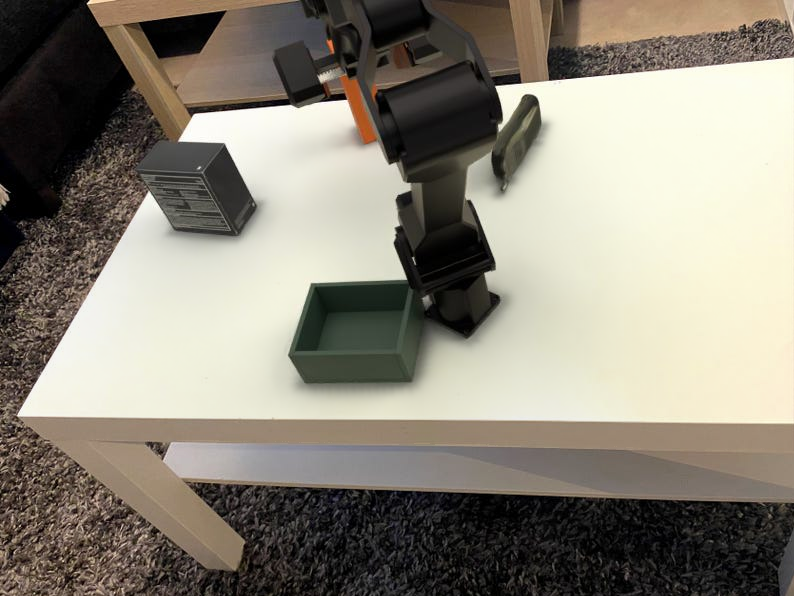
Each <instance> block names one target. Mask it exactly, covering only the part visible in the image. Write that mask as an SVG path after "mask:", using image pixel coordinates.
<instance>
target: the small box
mask: <svg viewBox="0 0 794 596" xmlns="http://www.w3.org/2000/svg"><path fill="white" fill-rule="evenodd" d="M134 171H135V173H136V175H138V177H139V178H140V179H141V181H142V182H143V184H144V185H145V187H146V188H147V190H148V191H149V193H150V195H151V196H152V197H153V199H154V200H155V201H154V202H156V204H157V205H158V206H159V208H160V210H161V212H162V213H163V215H164V216H165V217H166V219H167V221H168V222H169V224H170V226H171V227H172V229H173V230H174V231H176V232H177V231H178V232H191V233H203V234H216V235H227V236H238V235H239V234H240V233H241V231H242V229H243V228H244V226H245V224H246V223H247V221H249V219H250V217H251V216H252V214H253V213H254V211H255V210H256V208H257V206H258V204H257V203H256V201H255V199H254V197H253V195H252V193H251V191H250V189H249V188H248V185H247V184H246V181H245V180H244V178H243V176H242V174H241V172H240V170H239V168H238V166H237V164H236V162H235V161H234V158H233V157H232V155H231V153H230V151H229V149H228V148H227V145H226V143H225V142H206V141H201V142H200V141H178V140H177V141H175V140H158V141H157V142H156V143H155V144H154V145H153V147H152V148H151V149H150V150H149V151H148V153H146V154H145V156H144V157H143V158H142V159H141V160H140V161H139V163H138V164H137V165H136V167H134Z"/></svg>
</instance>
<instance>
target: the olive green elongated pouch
mask: <svg viewBox="0 0 794 596" xmlns="http://www.w3.org/2000/svg"><path fill="white" fill-rule="evenodd" d="M540 105H541V104H540V101H539V98H538V97H537V96H536V95H535V94H532V93H531V94H530V93H525V94H523V95H522V96H521V98H520V101H519V103H518V105H517V107H516V108H515V109H514V110H513V112H512V114H511V115H510V117H509V119H508V121H507V122H506V123H505V124H504V125H503V127H502V128H501V129H500V130H499V136H498V140H497V142H496V144H495V145H494V147H493V149H492V151H491V152H490V162H491V168H492V172H493V175H494V177H495V178H496V179H499V180H501V185H500V187H499V190H500V192H505V191H506V189H507V187H508V184H509V182H510V180H511V178H512V176H513V174H514V172H516V169H518V167H519V166H520V164H521V163H522V161H523V160H524V158H525V156H526V154H527V152H528V151H529V149H530V148H531V146H532V144H533V143H534V140H535V139H536V137H537V136H538V133H539V132H540V129H541V127H542V112H541V106H540Z"/></svg>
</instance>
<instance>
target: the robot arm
mask: <svg viewBox="0 0 794 596" xmlns="http://www.w3.org/2000/svg"><path fill="white" fill-rule="evenodd" d="M298 2H299V4H300V7H301V10H302V11H303V14H304V16H305V19H307V20H309V19H311V18H315V20H316V21H318V20H321V22H322V27H323V32H324V34H325V37H326V40H328V41H330V40H332V45H333V50H334V54H331V53H330V54H329V55H325V56H323V57H320V58H317V59H314V56H313V55H312V53H311V51H310V49H309V47H307V46H306V43H305V42H304V40H303V39H301V40H298V41H295V42H293V43H290V44H287V45H285V46H281V47H279V48H275V49H274V50H273V53H272V55H271V59H272V62H273V65H274V67H275V70H276V71H277V74H278V77H279V79H280V81H281V83H282V86H283V89H284V91H285V93H286V96H287V98H288V101H289V103H290V105H291V106H292V107H294V108H295V109H301V108H303V107H307V106H312V105H314V104H317V103H319V102H322V101H325V100H328V99H329V98H330V97H331V95H332V92H331V90H330V87H329V84H328V82H330V81H332V80H336V79H338V78H339V77H341V76H344V75H346V74H347V77H348V79H349V81H351V80H354V79H357V82H358V86H359V90H360V94H361V98H362V102H363V106H364V109H365V111H366V114H367V116H368V118H369V121H370V123H371V126H372V128H373V131H374V133H375V135H376V138H377V140H376V141H377V143H378V146H379V147H380V149H381V152H382V155H383V157H384V160H385V161H386V163H387V165H388V166H391V165H393V164H396V167H397V170H398V172H399V175H400V177H401V179H402V181H403V182H404V183H406V184H410V190H407V191H404V192H402V193H399V194H397V196H396V197H395V199H394V201H395V205H396V208H395V209H396V211H397V221H398V224H399V225H397V226H395V227H394V232H395V234H394V240H393V243H392V244H393V247H394V249H395V252H396V254H397V258H398V260H399V262H400V264H401V267H402V269H403V273H404V276H405V278H406V280H407V281H408V284H409V286H410V289H413V290H417V292H418V294H420V295H421V297H422V299H425V298H428V299H429V302H431V304H430V305H428V307H427V308H426V310H425V312H424V315H425V316H424V318H425V319H427V320H429V321H431V322H434V323H435V324H438V325H440V327H444V328H445V329H448V330H450V331H451V332H454V333H455V334H458V335H459V336H461V337H464V338H469V337H470V336H472V335H473V333H474V332H475V331H476V330H477V329H478V328H479V326H480V325H481V324H482V323H483V322H484V321H485V320H486V318H487V317H489V315H490V314H491V313H492V312H493V311H494V309H495V308H496V307H497V306H498V305H499V304H500V303H501V300H502V299H501V296H500V295H499V294H497V293H495V292H493V291H490V290H489V288H488V287H489V286H488V282H487V279H486V273H489V272H494V271H496V270H497V267H496V266H497V263H496V259H495V257H494V254H493V251H492V249H491V246H490V243H489V241H488V238H487V236H486V233H485V230H484V228H483V225H482V223H481V220H480V216H479V214H478V212H477V209H476V207H475V205H474V203H473V201H472V200H471V199H470V198H469V199H467V198H466V190H467V182H468V172H469V171H468V170H469V167H470V166H472V165H473V164H474V163H476V162H478V161H480V160H481V159H483V158H484V157H485V156H487V155H489V154H491V152H492V149H493V147H494V145H495V144H496V142H497V140H498V136H499V132H500V129H499V125H502V124H503V122H504V111H503V106H502V102H501V99H500V95H499V92H498V90H497V87H496V84H495V82H494V80H493V78H492V76H491V73H490V71H489V69H488V67H487V65H486V62H485V60H484V58H483V56H482V53H481V51H480V48H479V47H478V46H479V45H478V44H477V41H476V40H475V37H474V36H473V35H472V34H471V33H470V32H469V31H467V30H466V29H465V28H463V26H461V25H459V24H457V23H456V22H455V21H453V20H452V19H451V18H449V17H448V16H446V15H445V14H444V13H442V12H441V11H439V10H438V9H437V8H436V7H434V6H433V4H432V3H431V0H298ZM392 48H393V54H392V55H393V62H394V65H395V68H396V69H397V70H405V69H413V68H415V67H418V66H421V65H423V64H426V63H429V62H432V61H433V60H435V59H438V58H441V57H442V56H443V55H445V56H447V57H449V59H451V60H452V61H453V62H455V64H452V65H449V66H446V67H444V68H441V69H438V70H434V71H432V72H429V73H427V74H424V75H421V76H418V77H415V78H413V79H410V80H407V81H404V82H402V83H399V84H396V85H393V86H390V87H388V88H385V89H382V90H379V91H378V92H377V93H376V94H375V97H374V98H375V102H374V100H373V97H372V91H373V85H374V82H375V79H376V72H379V71H381V70H385V69H387V68H390V65H391V64H390V61H389V58H388V55H389V54H390V53H391V50H390V49H392ZM338 67H340V69H339V68H338ZM375 104H376V105H375ZM427 296H428V297H427Z"/></svg>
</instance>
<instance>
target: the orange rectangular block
mask: <svg viewBox="0 0 794 596" xmlns="http://www.w3.org/2000/svg"><path fill="white" fill-rule="evenodd" d="M326 43H327V46H328V48H329V51H330V55H331V54H334V50H333V45H332V40H330V41H328V39H326ZM338 68H339V69H340V67H338ZM338 78H339V80H340V83H341V86H342V89H343V91H344V95H345V98H346V100H347V103H348V106H349V109H350V112H351V115H352V118H353V121H354V124H355V126H356V129H357V131H358V133H359V136H360V138H361V139H362V142H363V143H364V145H367V144H369V143H373V142H375V141H378V140H377V138H376V135H375V133H374V131H373V128H372V126H371V123H370V121H369V118H368V116H367V114H366V111H365V109H364V106H363V102H362V98H361V94H360V90H359V86H358V82H357V79H354V80H351V81H349V79H348V77H347V74H346V75H344V76H341V77H338ZM377 92H379V91H378V88H377V85H376V81H374V85H373V91H372V97H373V100H374V102H375V98H374V97H375V94H376V93H377ZM375 105H376V104H375Z"/></svg>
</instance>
